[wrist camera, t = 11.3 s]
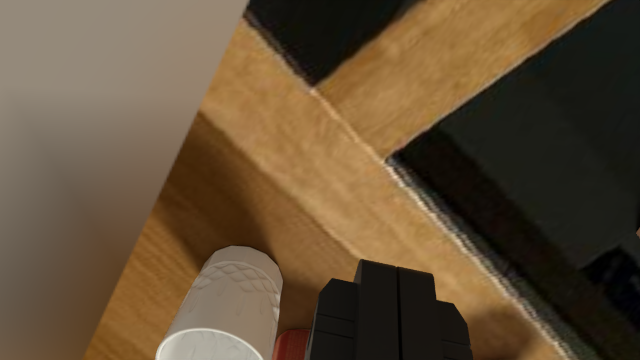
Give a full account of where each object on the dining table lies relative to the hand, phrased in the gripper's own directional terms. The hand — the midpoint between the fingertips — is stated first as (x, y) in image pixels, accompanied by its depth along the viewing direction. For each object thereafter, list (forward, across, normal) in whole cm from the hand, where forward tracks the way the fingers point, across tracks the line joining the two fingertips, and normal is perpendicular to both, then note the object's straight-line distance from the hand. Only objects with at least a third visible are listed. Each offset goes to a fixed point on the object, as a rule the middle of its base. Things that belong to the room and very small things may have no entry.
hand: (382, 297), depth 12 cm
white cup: (+27, +6, +24) cm, 37 cm away
